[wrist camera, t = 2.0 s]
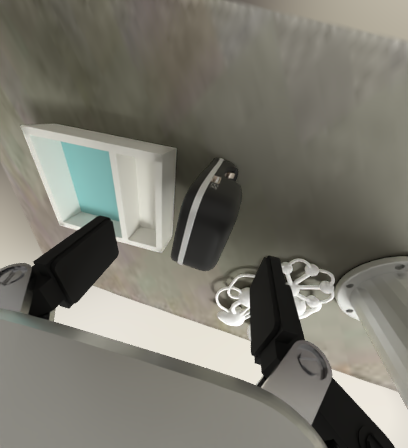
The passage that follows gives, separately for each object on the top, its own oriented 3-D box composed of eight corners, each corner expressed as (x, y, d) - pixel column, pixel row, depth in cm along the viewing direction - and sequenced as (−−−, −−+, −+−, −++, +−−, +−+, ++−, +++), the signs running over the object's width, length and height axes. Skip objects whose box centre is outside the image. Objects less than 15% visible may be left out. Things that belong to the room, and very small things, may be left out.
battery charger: (227, 216, 23) (211, 286, 14) (200, 206, 23) (166, 269, 14) (248, 164, 19) (246, 213, 10) (215, 153, 19) (182, 191, 10)
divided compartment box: (176, 148, 20) (162, 154, 16) (172, 236, 27) (161, 253, 24) (55, 123, 21) (19, 124, 18) (81, 212, 29) (59, 225, 25)
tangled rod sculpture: (280, 230, 24) (283, 247, 20) (357, 289, 25) (374, 315, 21) (205, 293, 34) (199, 311, 31) (262, 333, 35) (262, 356, 31)
